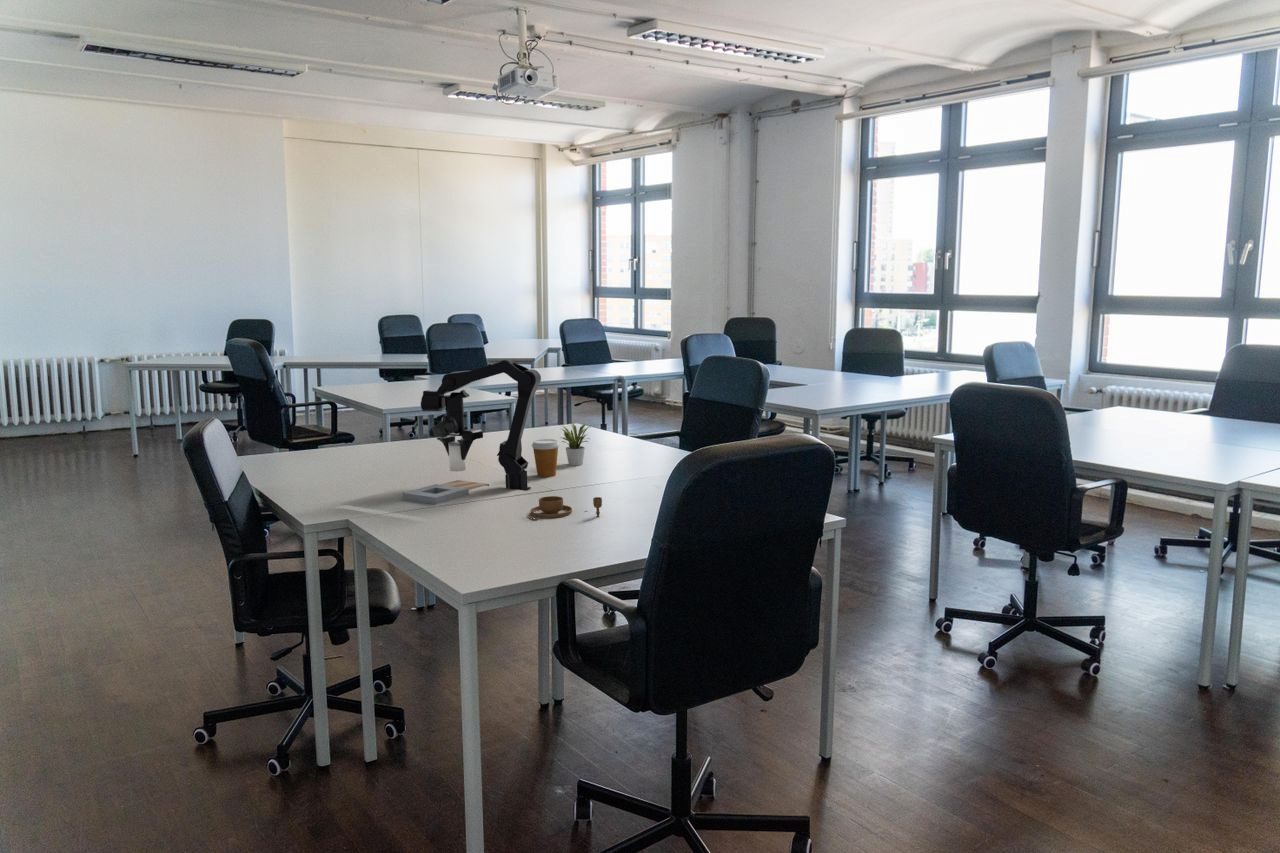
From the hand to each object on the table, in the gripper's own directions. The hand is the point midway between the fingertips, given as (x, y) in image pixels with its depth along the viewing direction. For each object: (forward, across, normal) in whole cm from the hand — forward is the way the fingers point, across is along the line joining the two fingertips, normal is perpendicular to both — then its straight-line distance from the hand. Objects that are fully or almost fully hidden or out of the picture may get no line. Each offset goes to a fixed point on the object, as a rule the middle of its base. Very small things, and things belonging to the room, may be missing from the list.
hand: (457, 459), depth 294 cm
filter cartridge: (+4, 0, 0) cm, 4 cm away
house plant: (+10, +10, +53) cm, 55 cm away
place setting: (+11, +51, -12) cm, 53 cm away
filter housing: (+10, +5, -15) cm, 19 cm away
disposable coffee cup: (+10, +12, +31) cm, 35 cm away
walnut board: (+10, 0, 0) cm, 10 cm away
